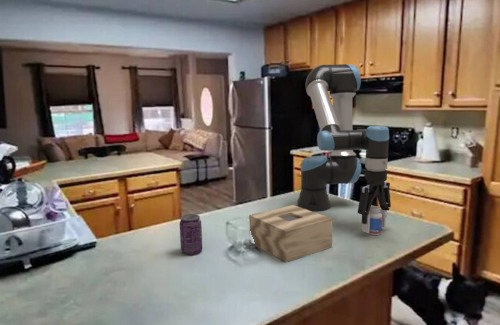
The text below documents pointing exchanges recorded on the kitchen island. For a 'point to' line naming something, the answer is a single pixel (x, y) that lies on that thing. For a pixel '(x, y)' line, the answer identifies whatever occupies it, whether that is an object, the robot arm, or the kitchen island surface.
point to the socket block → (291, 232)
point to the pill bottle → (375, 221)
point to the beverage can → (190, 234)
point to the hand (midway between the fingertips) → (373, 229)
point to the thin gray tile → (289, 218)
